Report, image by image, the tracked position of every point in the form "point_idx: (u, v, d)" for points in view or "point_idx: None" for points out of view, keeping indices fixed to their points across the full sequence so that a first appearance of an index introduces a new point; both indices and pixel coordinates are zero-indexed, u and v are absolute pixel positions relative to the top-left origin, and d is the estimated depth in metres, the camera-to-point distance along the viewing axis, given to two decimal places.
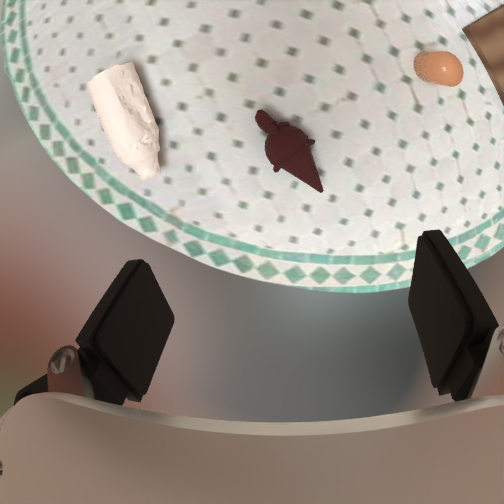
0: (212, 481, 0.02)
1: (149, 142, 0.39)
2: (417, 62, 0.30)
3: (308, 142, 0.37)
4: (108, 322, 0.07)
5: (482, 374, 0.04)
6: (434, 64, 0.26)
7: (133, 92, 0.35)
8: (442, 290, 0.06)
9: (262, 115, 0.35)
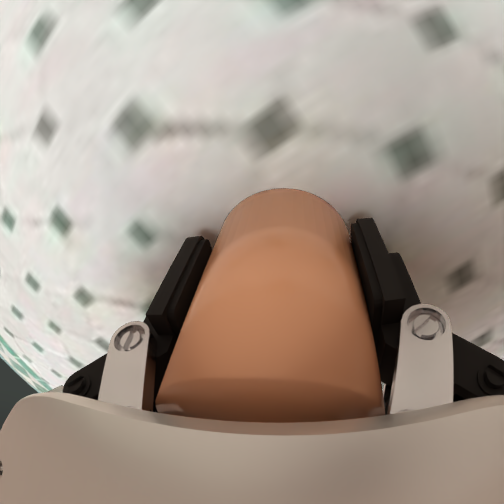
0: (212, 481, 0.02)
1: None
2: (335, 225, 0.09)
3: None
4: (181, 294, 0.08)
5: (400, 364, 0.05)
6: (348, 395, 0.04)
7: None
8: (363, 272, 0.08)
9: None
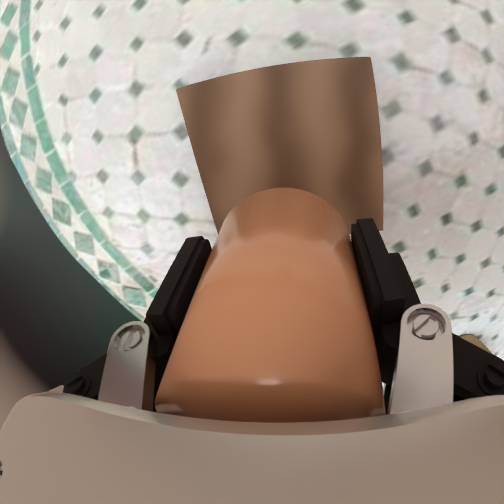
0: (212, 481, 0.02)
1: None
2: (335, 224, 0.09)
3: None
4: (181, 294, 0.08)
5: (399, 363, 0.05)
6: (348, 394, 0.04)
7: None
8: (363, 272, 0.08)
9: None
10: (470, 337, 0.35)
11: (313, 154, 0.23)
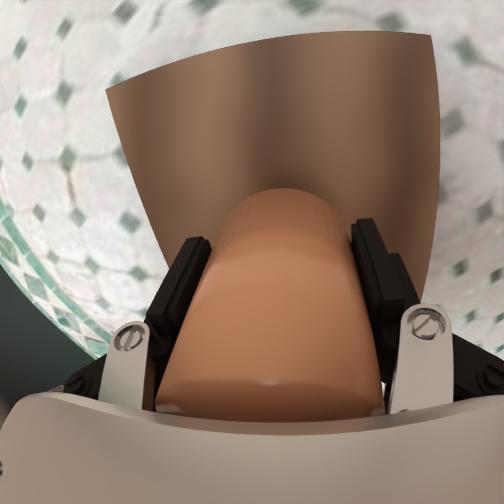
0: (212, 481, 0.02)
1: None
2: (335, 225, 0.09)
3: None
4: (181, 294, 0.08)
5: (399, 364, 0.05)
6: (348, 395, 0.04)
7: None
8: (363, 272, 0.08)
9: None
10: None
11: (331, 196, 0.14)
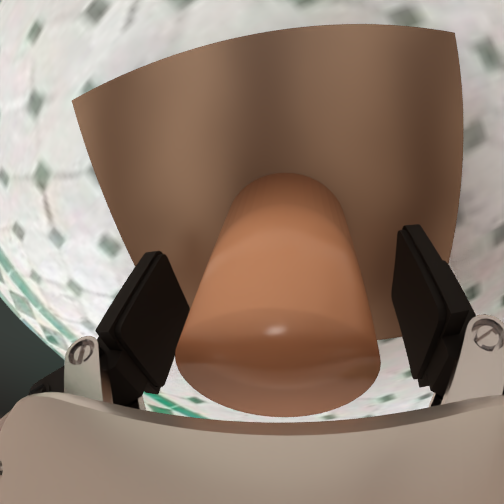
0: (212, 481, 0.02)
1: None
2: (331, 203, 0.10)
3: None
4: (129, 312, 0.08)
5: (459, 368, 0.04)
6: (345, 329, 0.05)
7: None
8: (418, 282, 0.07)
9: None
10: None
11: None
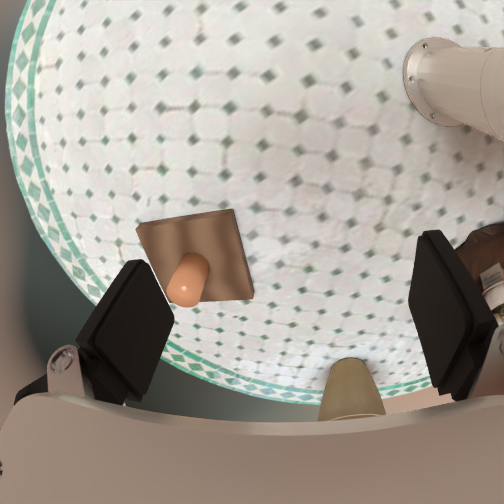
0: (212, 481, 0.02)
1: None
2: (199, 260, 0.44)
3: None
4: (108, 322, 0.07)
5: (482, 374, 0.04)
6: (188, 284, 0.40)
7: None
8: (442, 290, 0.06)
9: None
10: (352, 360, 0.58)
11: None
